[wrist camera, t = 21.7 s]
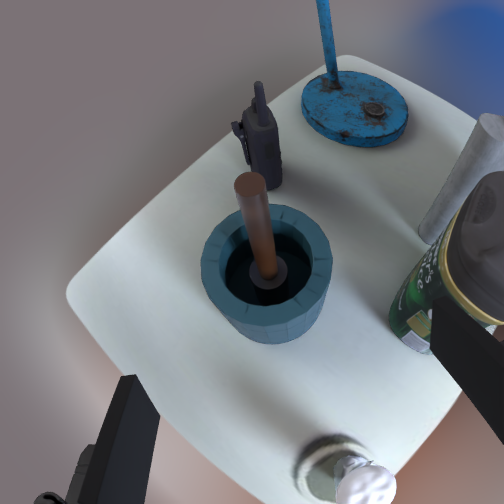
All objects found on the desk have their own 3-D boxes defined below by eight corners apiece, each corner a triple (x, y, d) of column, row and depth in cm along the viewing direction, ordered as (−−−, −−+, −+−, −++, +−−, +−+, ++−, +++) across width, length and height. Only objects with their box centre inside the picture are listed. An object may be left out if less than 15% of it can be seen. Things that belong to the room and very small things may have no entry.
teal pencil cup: (271, 365, 30) (263, 354, 22) (204, 294, 34) (176, 261, 26) (343, 293, 32) (358, 258, 24) (273, 231, 36) (266, 183, 28)
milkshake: (370, 437, 26) (403, 453, 17) (372, 485, 24) (403, 517, 15) (324, 444, 26) (337, 467, 17) (327, 493, 24) (340, 531, 15)
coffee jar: (417, 254, 33) (492, 140, 16) (470, 293, 30) (573, 206, 13) (373, 325, 30) (453, 245, 14) (431, 367, 28) (553, 327, 11)
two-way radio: (286, 189, 38) (279, 88, 25) (250, 199, 38) (227, 100, 25) (273, 156, 41) (261, 58, 27) (240, 165, 41) (216, 69, 27)
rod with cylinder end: (272, 314, 31) (247, 222, 15) (250, 292, 33) (205, 186, 16) (295, 292, 32) (294, 181, 16) (273, 271, 33) (251, 150, 17)
